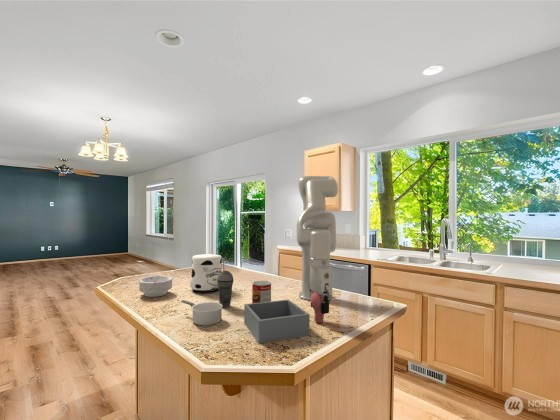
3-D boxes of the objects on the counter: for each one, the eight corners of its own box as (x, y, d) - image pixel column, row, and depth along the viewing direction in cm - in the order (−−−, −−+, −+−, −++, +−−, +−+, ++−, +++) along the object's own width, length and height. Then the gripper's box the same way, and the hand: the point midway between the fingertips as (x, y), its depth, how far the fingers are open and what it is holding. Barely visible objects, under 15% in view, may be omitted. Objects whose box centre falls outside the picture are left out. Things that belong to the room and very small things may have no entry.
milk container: (219, 294, 145) (219, 258, 145) (185, 293, 145) (185, 258, 145) (225, 285, 162) (226, 254, 162) (195, 285, 162) (196, 253, 162)
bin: (288, 317, 113) (288, 299, 113) (309, 335, 97) (309, 314, 97) (244, 323, 107) (244, 304, 107) (258, 343, 90) (258, 321, 90)
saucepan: (193, 310, 121) (193, 296, 121) (228, 319, 110) (229, 305, 110) (170, 318, 111) (170, 303, 111) (206, 329, 101) (206, 313, 101)
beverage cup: (229, 309, 122) (230, 262, 122) (213, 308, 123) (214, 261, 124) (235, 304, 129) (236, 259, 129) (220, 303, 130) (221, 259, 131)
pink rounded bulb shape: (331, 320, 110) (331, 289, 110) (326, 327, 104) (326, 294, 104) (313, 317, 113) (313, 287, 113) (307, 323, 107) (307, 291, 107)
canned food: (262, 307, 125) (262, 279, 125) (274, 311, 120) (275, 283, 120) (248, 311, 120) (248, 282, 120) (260, 316, 114) (260, 286, 114)
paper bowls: (160, 299, 134) (161, 282, 135) (131, 297, 137) (132, 281, 137) (177, 291, 149) (178, 276, 150) (151, 289, 152) (151, 274, 152)
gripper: (341, 266, 102) (341, 316, 102) (317, 259, 118) (317, 302, 118) (323, 267, 99) (322, 319, 99) (301, 260, 115) (300, 304, 115)
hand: (319, 309), depth 108 cm, fingers closed on pink rounded bulb shape, 7 cm apart
